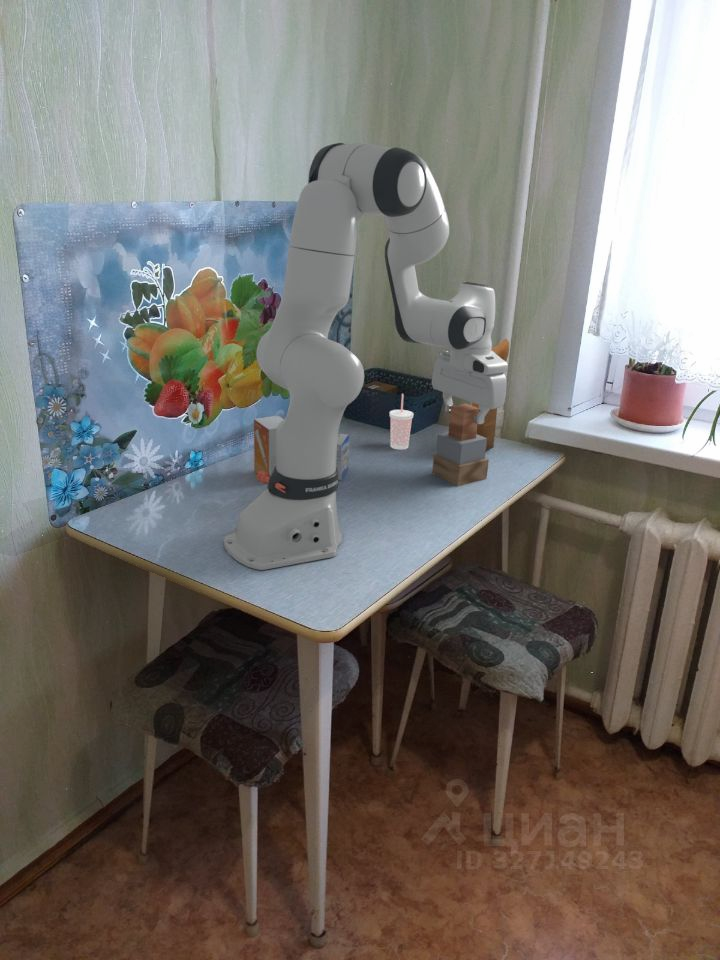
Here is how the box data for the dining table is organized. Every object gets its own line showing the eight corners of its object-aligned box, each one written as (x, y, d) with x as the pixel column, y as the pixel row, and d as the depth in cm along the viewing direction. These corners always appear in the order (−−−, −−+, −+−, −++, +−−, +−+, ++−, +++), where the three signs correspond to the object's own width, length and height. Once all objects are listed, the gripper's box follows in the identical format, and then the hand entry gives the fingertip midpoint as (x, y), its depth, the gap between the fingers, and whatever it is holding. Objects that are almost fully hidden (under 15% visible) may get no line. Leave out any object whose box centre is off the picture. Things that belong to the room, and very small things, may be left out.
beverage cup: (385, 442, 198) (388, 390, 192) (408, 442, 199) (411, 390, 194) (390, 450, 192) (393, 397, 187) (413, 450, 193) (417, 397, 188)
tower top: (459, 465, 172) (461, 444, 170) (435, 454, 177) (437, 434, 176) (484, 458, 176) (487, 438, 174) (460, 448, 182) (462, 428, 180)
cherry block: (461, 440, 172) (464, 411, 169) (448, 435, 175) (450, 406, 172) (476, 437, 174) (479, 408, 171) (462, 432, 177) (465, 403, 175)
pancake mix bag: (506, 444, 201) (519, 338, 190) (475, 464, 186) (487, 351, 175) (483, 438, 204) (494, 334, 194) (451, 458, 189) (461, 346, 179)
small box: (253, 472, 175) (253, 418, 170) (278, 468, 178) (278, 415, 173) (268, 484, 168) (268, 428, 164) (294, 480, 172) (294, 425, 167)
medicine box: (341, 481, 172) (342, 445, 169) (321, 478, 173) (322, 443, 170) (348, 469, 179) (349, 434, 176) (330, 466, 180) (331, 432, 177)
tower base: (457, 487, 173) (459, 466, 171) (432, 474, 179) (433, 454, 177) (486, 479, 177) (488, 459, 176) (460, 467, 184) (462, 448, 182)
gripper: (428, 349, 173) (423, 407, 178) (493, 369, 158) (486, 432, 163) (448, 346, 177) (443, 404, 182) (513, 365, 162) (506, 427, 167)
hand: (464, 417), depth 173 cm, fingers open, 8 cm apart
